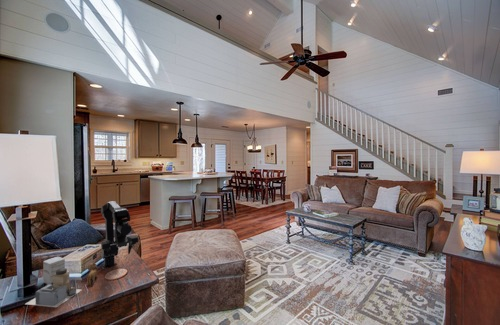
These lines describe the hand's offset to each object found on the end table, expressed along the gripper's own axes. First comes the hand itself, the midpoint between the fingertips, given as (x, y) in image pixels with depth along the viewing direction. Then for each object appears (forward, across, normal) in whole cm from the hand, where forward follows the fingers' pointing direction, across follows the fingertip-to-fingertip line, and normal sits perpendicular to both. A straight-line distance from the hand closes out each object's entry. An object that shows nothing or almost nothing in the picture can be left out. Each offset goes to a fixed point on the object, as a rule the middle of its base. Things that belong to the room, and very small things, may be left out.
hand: (120, 256), depth 131 cm
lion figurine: (+14, -13, +6) cm, 20 cm away
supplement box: (+14, -30, +20) cm, 38 cm away
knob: (+12, -26, -1) cm, 29 cm away
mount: (+13, -29, -1) cm, 32 cm away
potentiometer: (+12, -22, -4) cm, 26 cm away
